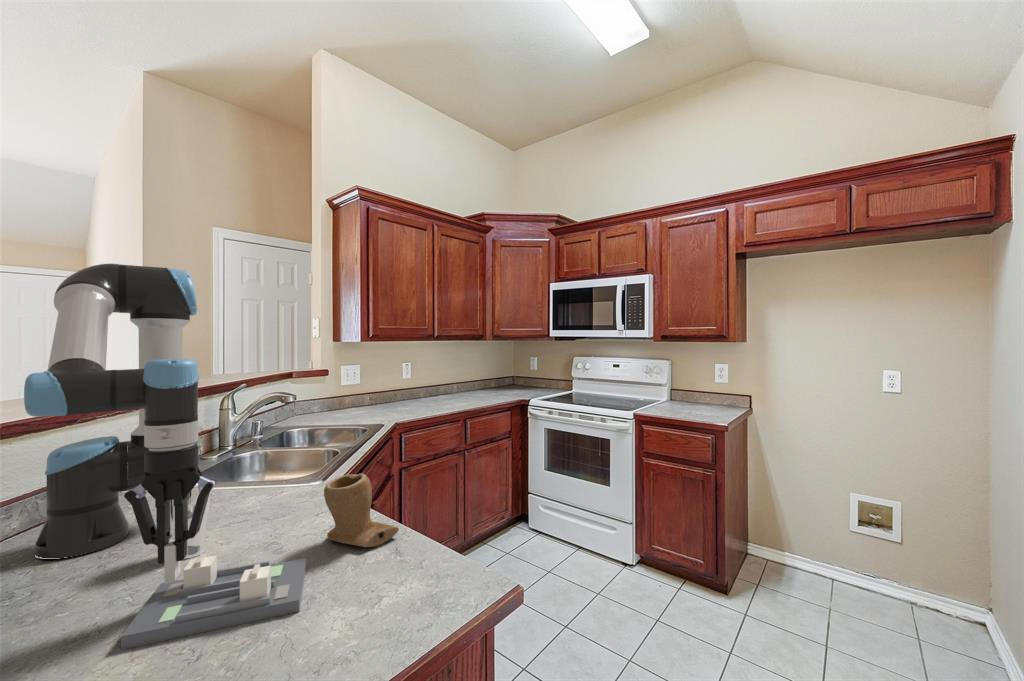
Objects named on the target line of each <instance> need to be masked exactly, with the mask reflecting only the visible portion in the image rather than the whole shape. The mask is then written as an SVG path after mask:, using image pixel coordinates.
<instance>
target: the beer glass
mask: <svg viewBox="0 0 1024 681" xmlns="http://www.w3.org/2000/svg"><path fill="white" fill-rule="evenodd" d="M198 487H199V485H198V483H197V484H196V485H195V487H194V488H193V489H192V490H191V492H190V493H189V497H188V530H189V527H190V523H191V520H192V516H193V512H194V509H195V505H196V501H197V498H198V495H199V493H200V491H199V490H198ZM210 507H211V493H210V494H209V497H208V501H207V505H206V508H205V512H204V516H203V519H202V523H201V527H200V530H199V532H198V533H197V534H196V535H195V537H194V538H190V539H188V540H187V555H186V557H185V558H184V560H188V559H194V558H195V557H199V556H200V555H201V554H205V553H206V552H207V551H208V549H209V546H208V540H207V536H206V533H207V524H208V520H209V514H210V509H211V508H210ZM170 520H171V523H172V527H173V532H174V534H175V506H174V505H173V500H172V499H171V502H170Z"/></svg>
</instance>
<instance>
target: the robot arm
mask: <svg viewBox="0 0 1024 681" xmlns="http://www.w3.org/2000/svg"><path fill="white" fill-rule="evenodd" d="M197 303H198V302H197V294H196V290H195V285H194V281H193V278H192V276H191V274H190V273H188V272H187V271H186V270H183V269H176V268H170V267H158V266H144V265H143V266H142V265H132V264H131V265H129V264H121V263H100V264H96V265H91V266H88V267H85V268H82V269H80V270H78V271H76V272H74V273H72V274H70V275H69V276H68V277H66V278H65V279H63V281H62V282H61V283H60V284H59V286H58V287H57V289H56V290H55V293H54V297H53V306H54V308H55V310H56V311H57V318H56V323H55V328H54V329H55V330H54V333H53V340H52V344H51V348H50V354H49V360H48V366H47V370H45V371H43V372H42V371H41V372H35V373H34V372H33V373H30V374H29V375H28V376H27V377H26V378H25V381H24V387H23V388H24V389H23V401H24V408H25V409H24V410H25V412H26V413H27V414H28V415H29V416H30V417H35V418H36V417H37V418H38V417H65V416H73V415H84V414H95V413H96V414H97V413H105V412H106V413H107V412H117V411H118V412H119V411H129V410H138V426H137V427H136V428H135V429H134V430H133V431H131V432H130V440H126V441H120V439H119V437H118V436H115V435H112V436H111V435H110V436H102V437H101V436H100V437H94V438H89V439H86V440H85V439H84V440H82V441H77V442H73V443H69V444H66V445H63V446H60V447H57V448H56V449H54V450H52V451H50V453H49V454H48V456H47V458H46V469H45V471H44V475H45V476H46V516H45V517H46V518H45V521H44V523H43V525H42V527H41V530H40V532H39V534H38V536H37V539H36V542H35V544H34V556H35V555H36V556H38V557H42V558H64V557H71V556H76V555H81V554H85V553H89V554H91V553H90V552H92V553H95V552H94V551H96V552H98V551H97V550H99V551H101V550H100V549H102V550H104V549H103V548H105V547H107V548H109V547H108V546H110V547H112V546H114V545H116V544H118V543H120V542H121V540H122V541H123V540H124V538H125V537H126V536H127V535H128V536H129V534H128V533H129V532H130V528H129V526H130V525H129V522H128V520H127V518H126V515H125V513H124V511H123V508H122V507H121V505H120V503H119V502H120V501H119V494H120V493H121V492H125V493H124V495H123V496H124V498H125V500H126V501H127V502H128V503H129V504H130V505H131V507H132V509H133V514H134V517H135V520H136V523H137V526H138V529H139V532H140V535H141V539H142V541H143V544H144V545H145V546H148V545H155V546H156V547H157V563H158V564H159V565H163V564H164V583H165V584H170V583H175V582H176V581H177V580H179V578H180V576H181V574H182V573H181V571H182V570H181V568H182V567H181V561H184V560H185V559H184V558H185V557H186V555H187V540H188V539H190V538H194V537H195V535H196V534H197V533H198V532H199V530H200V527H201V523H202V519H203V516H204V512H205V508H206V505H207V501H208V497H209V494H210V495H211V492H212V490H213V489H214V487H215V486H216V484H217V480H216V479H215V478H214V479H212V478H211V479H208V478H206V477H204V476H203V474H202V473H203V472H202V471H201V470H200V467H199V445H198V444H199V415H198V413H199V411H198V409H199V407H198V404H199V400H198V399H199V380H200V375H199V373H198V372H199V370H198V363H197V361H196V360H194V359H193V358H184V356H183V354H184V353H183V352H184V349H183V346H184V345H183V338H184V337H183V335H184V334H183V329H184V327H186V325H188V324H189V323H190V322H191V320H190V319H191V317H192V316H195V315H197V313H198V307H197V306H198V305H197ZM113 313H118V314H129V315H130V316H129V321H130V322H131V323H132V324H134V325H135V326H136V327H137V328H138V368H133V369H132V368H131V369H130V368H129V369H107V353H108V352H107V350H108V349H107V348H108V335H109V334H108V330H109V327H108V326H109V317H110V316H111V315H112V314H113ZM197 483H198V485H199V487H198V490H199V491H200V493H199V495H198V498H197V501H196V505H195V509H194V512H193V516H192V520H191V523H190V527H189V530H188V497H189V493H190V492H191V490H192V489H193V488H194V487H195V485H196V484H197ZM147 492H148V494H149V495H150V496H151V497H152V498H153V499H155V500H154V505H155V506H154V507H155V508H156V510H155V511H156V519H155V520H156V524H155V521H154V517H153V513H152V511H151V508H150V505H149V501H148V499H147V496H146V495H147ZM171 499H172V500H173V505H174V506H175V533H174V539H171V538H172V537H173V534H171V513H170V502H171ZM128 536H127V537H128ZM127 537H126V538H127ZM126 538H125V539H126ZM119 541H120V542H119ZM117 542H118V543H117ZM115 543H116V544H115ZM113 544H114V545H113ZM111 545H112V546H111ZM105 549H106V548H105ZM85 555H86V554H85ZM81 556H82V555H81Z"/></svg>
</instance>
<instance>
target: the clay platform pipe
mask: <svg viewBox="0 0 1024 681" xmlns="http://www.w3.org/2000/svg"><path fill="white" fill-rule="evenodd" d="M372 490H373V489H372V483H371V480H370V478H369V477H368V476H367V475H366V473H365V474H364V473H358V474H353V473H347V474H344V475H340V476H337V477H336V478H334V479H331V481H329V482H328V483H326V484H325V487H324V488H323V491H324V492H323V496H324V500H325V503H326V506H327V509H328V510H329V513H330V515H331V516H332V518H333V521H334V527H333V528H331V530H329V531H328V532H327V534H326V537H327V538H328V539H329V540H331V541H332V542H333V541H334V542H337V543H341V544H346V545H350V546H351V545H352V546H357V547H363V548H372V547H378V546H381V545H383V544H385V543H386V542H388V541H389V540H390V539H392V538H393V537H395V535H397V534H398V533H399V531H400V528H399V526H395V525H391V524H387V523H383V522H382V523H381V522H378V521H372V519H371V508H372V506H371V505H372V499H373V498H372V497H373V495H372V494H373V493H372V492H373V491H372Z"/></svg>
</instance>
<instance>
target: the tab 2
mask: <svg viewBox="0 0 1024 681" xmlns="http://www.w3.org/2000/svg"><path fill="white" fill-rule="evenodd" d="M270 590H271V566H265V567H260V564H257V565H255V566H254V568H253V569H248V570H245V571H244V573H243V576H242V578H241V580H240V602H242V601H247V600H253V599H258V598H263V597H268V596H269V593H270Z"/></svg>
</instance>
